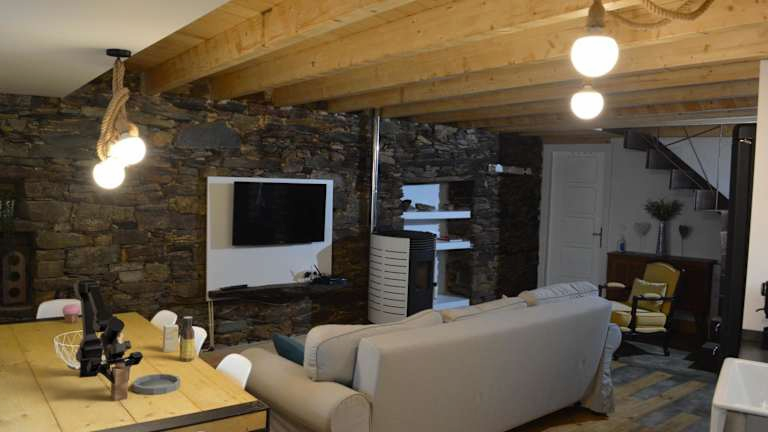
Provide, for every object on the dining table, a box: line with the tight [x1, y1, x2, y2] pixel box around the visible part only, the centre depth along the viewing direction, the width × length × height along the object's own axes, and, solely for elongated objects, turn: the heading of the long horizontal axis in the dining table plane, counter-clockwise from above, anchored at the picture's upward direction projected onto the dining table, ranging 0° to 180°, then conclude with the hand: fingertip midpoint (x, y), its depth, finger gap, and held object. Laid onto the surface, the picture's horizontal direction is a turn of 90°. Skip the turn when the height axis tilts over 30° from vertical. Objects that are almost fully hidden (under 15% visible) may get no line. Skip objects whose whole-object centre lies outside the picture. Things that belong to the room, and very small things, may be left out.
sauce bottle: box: [179, 315, 195, 362], centre depth 269 cm, size 6×6×20 cm
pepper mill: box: [110, 363, 129, 402], centre depth 220 cm, size 4×4×13 cm
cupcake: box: [61, 304, 81, 324], centre depth 326 cm, size 9×9×10 cm
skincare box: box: [162, 323, 179, 353], centre depth 282 cm, size 6×4×12 cm
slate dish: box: [132, 373, 181, 396], centre depth 234 cm, size 17×17×2 cm
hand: (120, 381), depth 219 cm, fingers open, 5 cm apart
